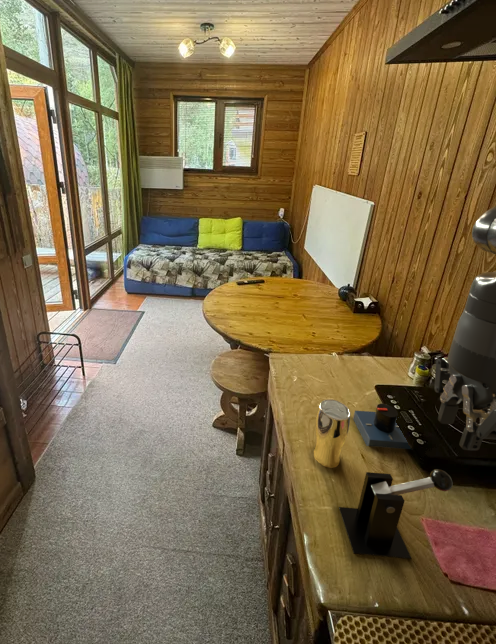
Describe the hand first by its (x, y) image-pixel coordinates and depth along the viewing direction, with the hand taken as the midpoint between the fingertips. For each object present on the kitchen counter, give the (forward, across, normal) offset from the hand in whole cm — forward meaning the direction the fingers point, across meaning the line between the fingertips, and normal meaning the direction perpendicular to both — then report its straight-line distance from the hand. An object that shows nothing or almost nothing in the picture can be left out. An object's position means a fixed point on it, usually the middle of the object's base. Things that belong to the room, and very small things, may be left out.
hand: (455, 434), depth 50 cm
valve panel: (+25, +25, -4) cm, 36 cm away
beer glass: (+26, +16, +13) cm, 33 cm away
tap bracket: (+25, 0, +9) cm, 27 cm away
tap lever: (+14, 0, +4) cm, 14 cm away
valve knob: (+22, +25, -4) cm, 34 cm away
